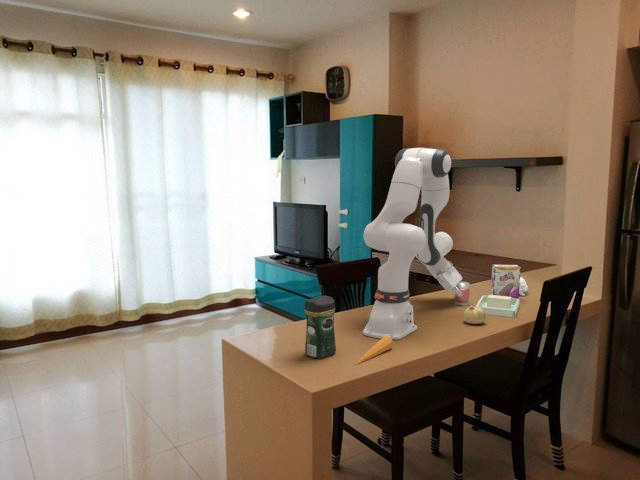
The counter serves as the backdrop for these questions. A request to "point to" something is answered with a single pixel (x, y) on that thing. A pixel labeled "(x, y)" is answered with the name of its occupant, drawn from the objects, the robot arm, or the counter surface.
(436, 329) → the counter surface
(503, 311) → the mint green tray
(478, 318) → the onion
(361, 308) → the counter surface
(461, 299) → the pink glass candle
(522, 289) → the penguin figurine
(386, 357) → the counter surface
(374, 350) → the carrot
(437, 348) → the counter surface
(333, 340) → the coffee jar
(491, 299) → the cream rectangular block
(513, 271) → the candy bar box
